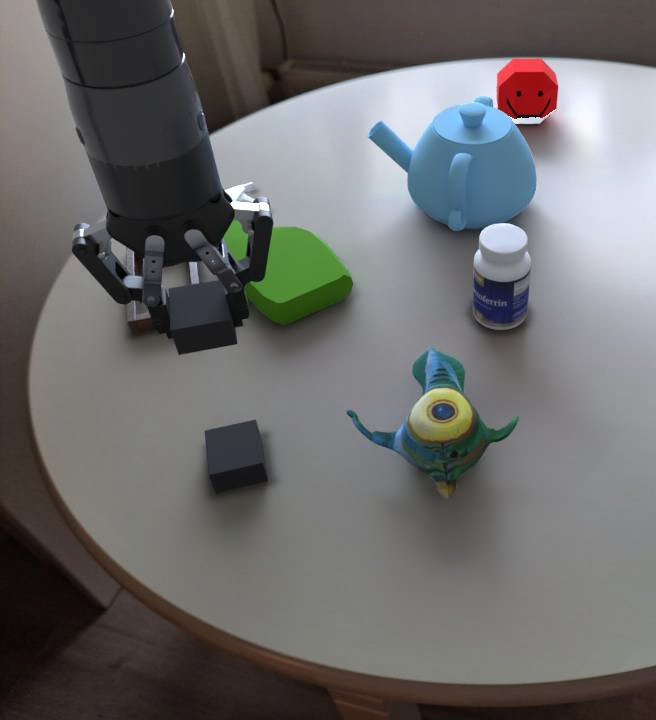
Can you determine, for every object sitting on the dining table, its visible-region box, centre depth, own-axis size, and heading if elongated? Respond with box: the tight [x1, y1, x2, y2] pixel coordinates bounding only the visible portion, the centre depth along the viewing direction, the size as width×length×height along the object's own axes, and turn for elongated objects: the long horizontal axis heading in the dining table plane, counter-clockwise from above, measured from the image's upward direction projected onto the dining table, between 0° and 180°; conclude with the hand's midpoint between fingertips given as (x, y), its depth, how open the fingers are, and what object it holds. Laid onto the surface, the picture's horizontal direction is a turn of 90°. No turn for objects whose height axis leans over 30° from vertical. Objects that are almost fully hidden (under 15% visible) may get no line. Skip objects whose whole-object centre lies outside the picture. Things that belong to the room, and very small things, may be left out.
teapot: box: [366, 94, 538, 232], centre depth 94 cm, size 20×20×13 cm
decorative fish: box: [346, 346, 520, 499], centre depth 71 cm, size 13×12×6 cm
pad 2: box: [204, 419, 269, 494], centre depth 69 cm, size 4×5×3 cm
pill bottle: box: [472, 222, 532, 331], centre depth 81 cm, size 6×6×10 cm
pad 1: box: [168, 279, 239, 356], centre depth 63 cm, size 4×5×3 cm
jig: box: [125, 246, 202, 336], centre depth 86 cm, size 7×13×2 cm, turn 18°
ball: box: [496, 58, 559, 119], centre depth 110 cm, size 8×8×8 cm
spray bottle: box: [223, 181, 354, 326], centre depth 90 cm, size 3×11×24 cm
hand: (205, 325), depth 63 cm, fingers closed on pad 1, 4 cm apart
